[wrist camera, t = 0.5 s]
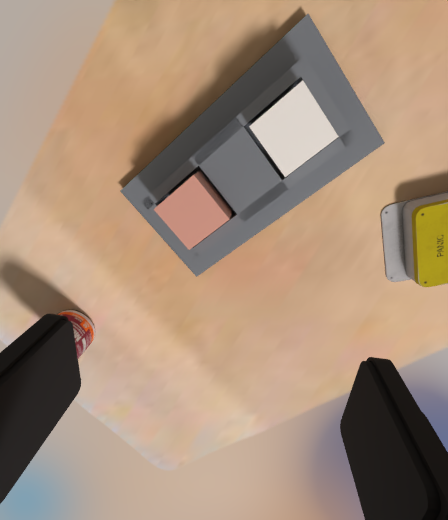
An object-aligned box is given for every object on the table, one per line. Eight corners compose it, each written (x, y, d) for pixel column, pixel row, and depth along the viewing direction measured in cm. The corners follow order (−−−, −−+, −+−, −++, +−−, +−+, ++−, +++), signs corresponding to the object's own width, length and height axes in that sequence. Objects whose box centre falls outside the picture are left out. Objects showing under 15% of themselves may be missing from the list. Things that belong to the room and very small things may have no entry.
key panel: (306, 17, 26) (315, -5, 22) (380, 142, 29) (400, 144, 25) (124, 189, 34) (105, 197, 30) (198, 273, 37) (190, 290, 33)
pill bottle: (99, 316, 41) (45, 378, 31) (94, 349, 44) (42, 416, 33) (56, 302, 41) (-12, 359, 31) (54, 336, 44) (-11, 399, 33)
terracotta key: (200, 170, 29) (193, 174, 26) (232, 210, 30) (229, 219, 27) (163, 202, 30) (153, 209, 27) (195, 239, 31) (189, 250, 28)
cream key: (297, 86, 25) (302, 80, 22) (329, 136, 26) (338, 136, 23) (250, 127, 27) (249, 126, 24) (282, 172, 28) (285, 177, 25)
